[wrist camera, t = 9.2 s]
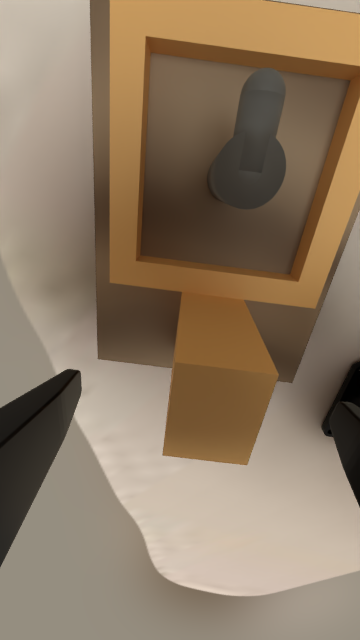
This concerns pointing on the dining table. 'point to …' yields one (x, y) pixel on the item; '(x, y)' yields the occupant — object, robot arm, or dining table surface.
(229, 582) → the dining table surface
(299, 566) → the dining table surface
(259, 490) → the dining table surface
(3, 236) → the dining table surface
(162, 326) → the hook plate
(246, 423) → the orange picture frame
